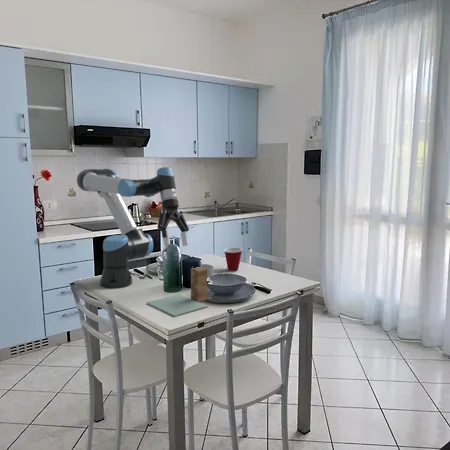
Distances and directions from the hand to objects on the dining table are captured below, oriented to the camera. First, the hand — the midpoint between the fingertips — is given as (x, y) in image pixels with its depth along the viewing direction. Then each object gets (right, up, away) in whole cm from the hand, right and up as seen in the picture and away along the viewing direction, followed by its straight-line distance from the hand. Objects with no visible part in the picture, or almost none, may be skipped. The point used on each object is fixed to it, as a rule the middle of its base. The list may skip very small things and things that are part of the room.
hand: (176, 245), depth 190 cm
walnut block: (+10, -24, -5) cm, 26 cm away
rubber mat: (+2, -25, -13) cm, 28 cm away
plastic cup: (+26, -16, +46) cm, 56 cm away
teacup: (+10, -20, +22) cm, 31 cm away
